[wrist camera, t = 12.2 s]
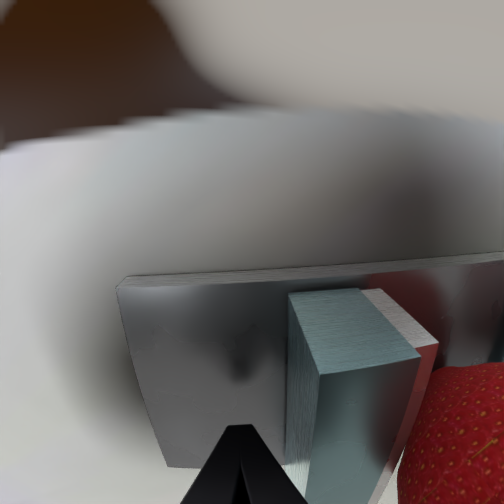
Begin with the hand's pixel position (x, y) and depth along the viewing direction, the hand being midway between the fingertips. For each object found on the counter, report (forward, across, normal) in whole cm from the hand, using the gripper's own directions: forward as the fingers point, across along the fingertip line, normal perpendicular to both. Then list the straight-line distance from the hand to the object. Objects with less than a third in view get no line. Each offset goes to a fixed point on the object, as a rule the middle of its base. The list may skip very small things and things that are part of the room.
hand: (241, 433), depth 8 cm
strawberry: (+2, -7, 0) cm, 7 cm away
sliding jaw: (+1, -3, 0) cm, 3 cm away
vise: (+2, -5, 0) cm, 6 cm away
